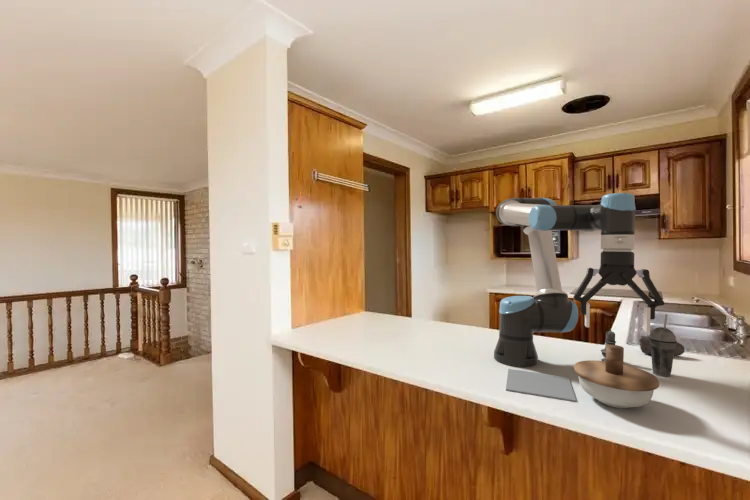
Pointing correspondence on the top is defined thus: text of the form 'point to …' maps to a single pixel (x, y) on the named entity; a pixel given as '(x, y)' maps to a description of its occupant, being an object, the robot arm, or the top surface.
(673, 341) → the beverage cup
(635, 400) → the cereal bowl
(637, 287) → the robot arm
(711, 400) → the top surface
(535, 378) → the mat
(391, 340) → the top surface
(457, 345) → the top surface
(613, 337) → the salt shaker
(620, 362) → the lid
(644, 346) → the perforated stone tool
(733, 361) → the top surface
